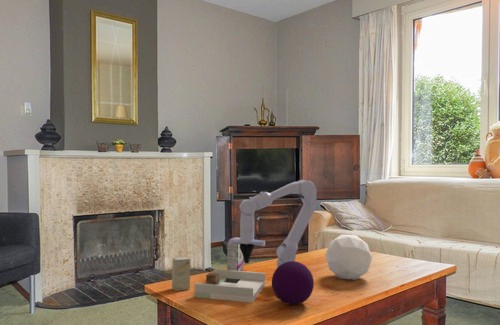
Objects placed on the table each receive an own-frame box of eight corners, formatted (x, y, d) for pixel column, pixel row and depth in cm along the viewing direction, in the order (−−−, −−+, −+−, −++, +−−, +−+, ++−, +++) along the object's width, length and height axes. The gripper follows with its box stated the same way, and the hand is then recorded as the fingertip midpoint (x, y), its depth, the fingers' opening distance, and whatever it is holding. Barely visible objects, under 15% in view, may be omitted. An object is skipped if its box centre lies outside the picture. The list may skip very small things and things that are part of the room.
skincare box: (174, 291, 162) (175, 260, 162) (171, 288, 166) (171, 257, 166) (190, 289, 165) (190, 258, 165) (186, 286, 169) (187, 256, 169)
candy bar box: (232, 273, 189) (233, 237, 189) (243, 274, 188) (243, 237, 188) (226, 280, 178) (226, 241, 178) (237, 281, 177) (238, 242, 177)
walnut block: (219, 283, 167) (219, 273, 167) (215, 286, 163) (215, 275, 163) (209, 282, 168) (209, 272, 168) (206, 285, 164) (206, 274, 164)
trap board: (265, 285, 171) (265, 272, 171) (252, 302, 150) (252, 288, 150) (214, 280, 177) (214, 269, 177) (194, 297, 155) (195, 283, 155)
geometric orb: (360, 294, 182) (388, 263, 173) (322, 281, 176) (348, 248, 168) (348, 263, 198) (372, 233, 190) (312, 251, 192) (336, 219, 184)
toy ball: (265, 307, 146) (265, 264, 146) (279, 294, 159) (280, 255, 159) (306, 313, 140) (307, 269, 140) (318, 300, 153) (318, 259, 153)
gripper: (227, 230, 168) (226, 263, 168) (262, 231, 164) (262, 266, 164) (232, 227, 175) (231, 259, 175) (266, 229, 171) (265, 262, 171)
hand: (246, 262), depth 170 cm, fingers closed
